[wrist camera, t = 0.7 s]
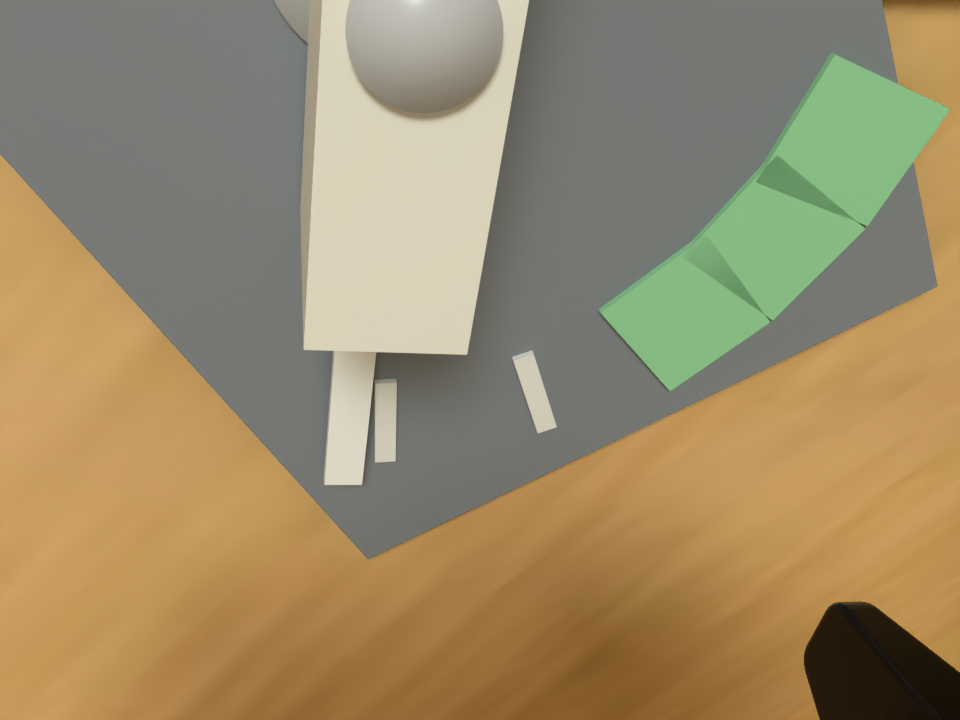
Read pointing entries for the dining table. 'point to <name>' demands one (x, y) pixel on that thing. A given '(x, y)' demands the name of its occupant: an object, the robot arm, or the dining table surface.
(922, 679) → the robot arm
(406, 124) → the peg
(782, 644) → the dining table surface
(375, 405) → the grey board
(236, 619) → the dining table surface
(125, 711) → the dining table surface
